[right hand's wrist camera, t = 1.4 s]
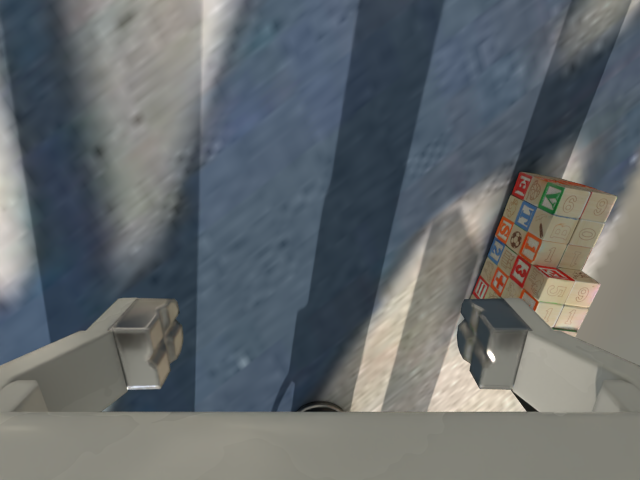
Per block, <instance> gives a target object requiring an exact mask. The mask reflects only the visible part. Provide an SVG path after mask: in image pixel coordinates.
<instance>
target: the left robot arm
mask: <svg viewBox="0 0 640 480" xmlns="http://www.w3.org/2000/svg"><path fill="white" fill-rule="evenodd" d="M511 391H512V392H513V390H511ZM513 394H514V395H515V396H516V398H517V399H518V400H519V402H520V403H521V404H522V406H523V407H524V408H525V410H526V411H527V412H539V411H537V410H536V409H535V408H534V407H532V406H531V405H530V404H528V403H527V402H526V401H525V400H523V399H522V398H521V397H519V396H518V395H517V394H516V393H514V392H513ZM297 412H344V411H343V410H342V409H341V408H340V407H338V406H336V405H334V404H332V403H328V402H313V403H309V404H307V405H304V406H303V407H301V408H300V409H299V410H298V411H297Z"/></svg>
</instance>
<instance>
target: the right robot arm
mask: <svg viewBox="0 0 640 480" xmlns="http://www.w3.org/2000/svg"><path fill="white" fill-rule="evenodd" d="M179 313H180V311H179V307H178V302H177V301H176V300H175V299H163V298H120V299H118V300H117V301H115V302H114V303H113V304H112V305H111V306H110V307H109V308H108V309H107V310H106V311H105V312H104V313H103V314H102V315H101V316H100V317H99V318H98V319H97V320H96V321H95V322H94V323H93V324H92V325H91V326H90V327H89V328H88V329H87V330H86V331H78V332H76V333H74V334H72V335H69V336H67V337H65V338H62V339H60V340H58V341H56V342H53V343H51V344H49V345H46V346H44V347H42V348H40V349H37V350H35V351H33V352H31V353H28V354H26V355H24V356H21V357H19V358H17V359H15V360H12V361H10V362H8V363H5V364H3V365H1V366H0V480H640V366H639V365H637V364H635V363H632V362H630V361H628V360H626V359H623V358H621V357H619V356H616V355H614V354H612V353H610V352H607V351H605V350H603V349H600V348H598V347H596V346H594V345H591V344H589V343H587V342H585V341H582V340H580V339H578V338H575V337H573V336H571V335H569V334H566V333H564V332H562V331H554V330H553V329H552V328H551V327H550V326H549V325H548V324H547V323H546V322H545V321H544V320H543V319H542V318H541V317H540V316H539V315H538V314H537V313H536V312H535V311H534V310H533V309H532V308H531V307H530V306H529V305H528V304H527V303H526V302H525V301H524V300H523V299H520V298H492V299H464V301H463V303H462V307H461V314H462V315H463V317H464V320H463V321H462V322H461V323H460V324H459V325H458V331H457V343H458V348H459V351H460V354H461V356H462V357H463V359H464V360H466V361H467V362H469V363H470V364H471V365H470V372H471V374H472V376H473V378H474V379H475V381H476V383H477V385H478V387H479V388H480V389H506V390H513V392H514V393H516V394H517V395H518V396H519V397H521V398H522V399H523V400H525V401H526V402H527V403H528V404H530V405H531V406H532V407H534V408H535V409H536V410H537V411H539V412H102V411H103V410H104V409H106V408H107V407H108V406H109V405H111V404H112V403H113V402H115V401H116V400H117V399H118V398H120V397H121V396H122V395H123V394H125V393H126V392H127V390H134V389H161V387H162V385H163V383H164V382H165V380H166V378H167V376H168V374H169V373H170V371H171V370H170V363H171V362H173V361H174V360H176V359H177V358H178V356H179V354H180V352H181V348H182V344H183V329H182V325H181V324H180V323H179V322H178V321H177V320H176V317H177V316H178V314H179Z"/></svg>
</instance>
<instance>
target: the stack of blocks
mask: <svg viewBox="0 0 640 480" xmlns="http://www.w3.org/2000/svg"><path fill="white" fill-rule="evenodd" d="M616 199H617V196H615V195H612V194H609V193H606V192H603V191H600V190H597V189H595V188H592V187H588V186H585V185H582V184H578V183H575V182H571V181H568V180H564V179H560V178H554V177H548V176H543V175H538V174H533V173H527V172H520V173H519V175H518V178H517V181H516V184H515V186H514V189H513V192H512V195H511V196H510V198H509V200H508V203H507V205H506V208H505V211H504V214H503V217H502V219H501V221H500V224H499V226H498V229H497V231H496V234H495V238H494V240H493V243H492V246H491V248H490V251H489V253H488V257H487V259H486V262H485V264H484V267H483V269H482V272H481V275H480V276H479V278H478V281H477V283H476V286H475V288H474V291H473V294H472V296H471V298H470V299H492V298H520V299H523V300H524V301H525V302H526V303H527V304H528V305H529V306H530V307H531V308H532V309H533V310H534V311H535V312H536V313H537V314H538V315H539V316H540V317H541V318H542V319H543V320H544V321H545V322H546V323H547V324H548V325H549V326H550V327H551V328H552V329H553V330H554V331H562V332H564V333H566V334H569V335H571V336H573V337H575V336H576V334H577V330H578V329H579V328H580V326H581V324H582V322H583V320H584V318H585V316H586V314H587V312H588V310H589V308H588V307H590V305H591V303H592V301H593V299H594V297H595V295H596V293H597V291H598V289H599V287H600V285H601V284H600V283H599V282H597V281H596V280H594V279H593V278H591V277H590V276H588V275H587V274H585V273H584V272H582V269H583V267H584V265H585V263H586V261H587V259H588V257H589V254H590V252H591V250H592V248H593V247H594V246H595V244H596V242H597V240H598V237H599V235H600V233H601V231H602V229H603V227H604V225H605V221H606V220H607V218H608V216H609V214H610V211H611V210H612V208H613V205H614V203H615V201H616Z"/></svg>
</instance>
